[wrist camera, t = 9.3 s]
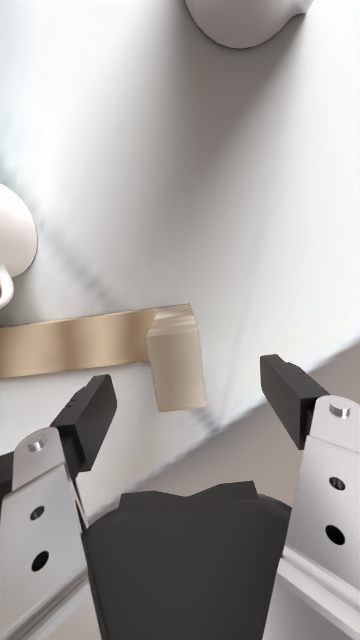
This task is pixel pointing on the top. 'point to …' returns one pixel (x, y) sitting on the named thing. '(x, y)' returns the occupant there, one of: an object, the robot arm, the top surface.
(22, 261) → the mug
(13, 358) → the bracket
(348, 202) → the top surface
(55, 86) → the top surface
